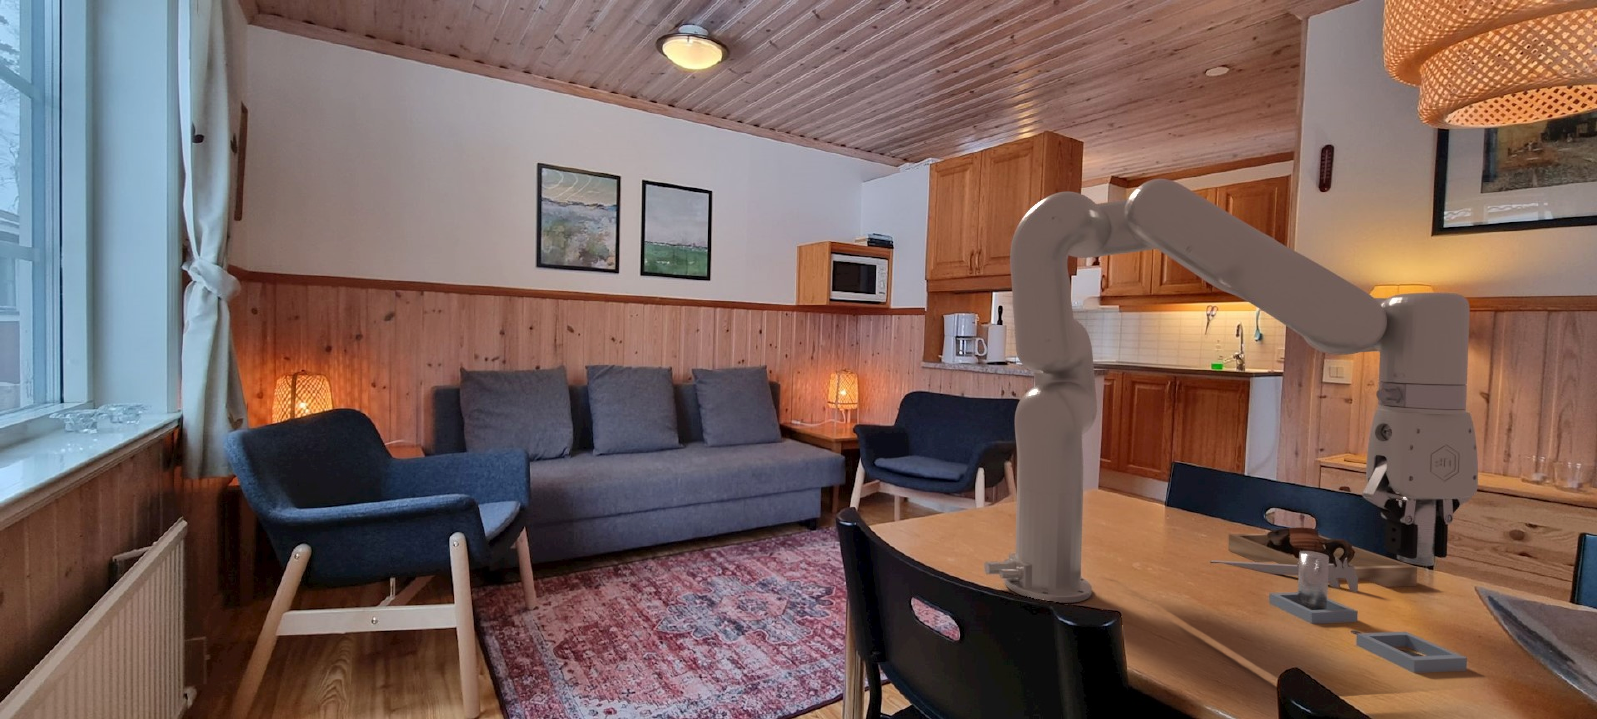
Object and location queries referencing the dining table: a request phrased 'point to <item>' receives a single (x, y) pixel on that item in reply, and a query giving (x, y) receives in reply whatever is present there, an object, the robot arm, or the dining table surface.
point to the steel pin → (1423, 532)
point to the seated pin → (1313, 580)
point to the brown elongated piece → (1367, 562)
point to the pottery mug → (1307, 543)
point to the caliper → (1286, 569)
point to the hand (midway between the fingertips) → (1415, 552)
